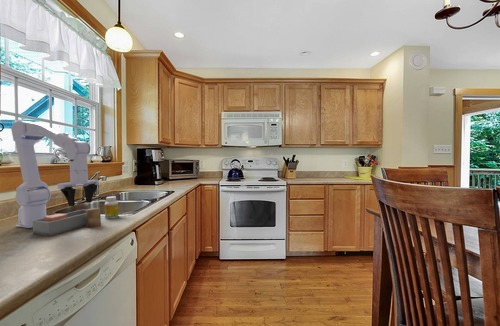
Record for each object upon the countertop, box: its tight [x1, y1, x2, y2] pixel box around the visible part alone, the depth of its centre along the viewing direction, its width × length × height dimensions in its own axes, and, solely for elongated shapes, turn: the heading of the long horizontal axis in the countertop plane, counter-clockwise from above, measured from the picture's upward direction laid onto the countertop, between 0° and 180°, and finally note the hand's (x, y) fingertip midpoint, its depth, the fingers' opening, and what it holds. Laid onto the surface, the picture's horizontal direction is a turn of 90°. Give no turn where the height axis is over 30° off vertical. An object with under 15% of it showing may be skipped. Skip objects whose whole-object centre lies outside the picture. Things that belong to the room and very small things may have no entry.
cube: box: [44, 213, 67, 222], centre depth 87 cm, size 5×5×5 cm
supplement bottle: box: [104, 195, 119, 220], centre depth 105 cm, size 5×5×10 cm
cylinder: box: [85, 207, 102, 229], centre depth 93 cm, size 5×5×7 cm
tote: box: [32, 209, 87, 237], centre depth 91 cm, size 9×18×5 cm, turn 161°
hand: (80, 204), depth 90 cm, fingers open, 6 cm apart
